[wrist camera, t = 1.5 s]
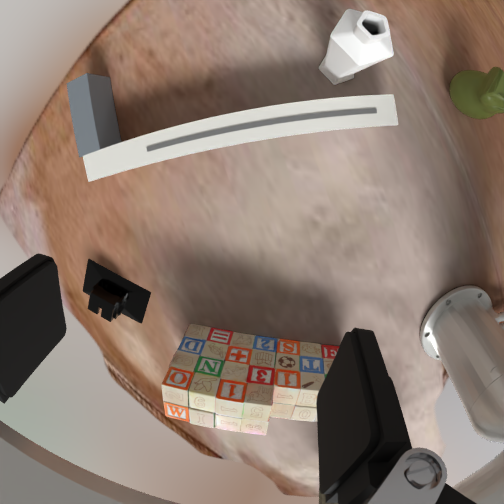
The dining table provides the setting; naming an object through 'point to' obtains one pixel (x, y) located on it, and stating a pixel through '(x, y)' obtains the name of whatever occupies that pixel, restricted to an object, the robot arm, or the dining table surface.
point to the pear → (478, 92)
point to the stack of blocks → (243, 379)
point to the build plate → (114, 294)
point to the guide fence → (205, 126)
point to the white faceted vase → (356, 45)
